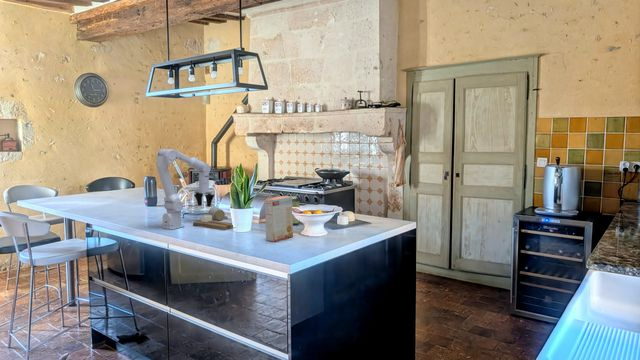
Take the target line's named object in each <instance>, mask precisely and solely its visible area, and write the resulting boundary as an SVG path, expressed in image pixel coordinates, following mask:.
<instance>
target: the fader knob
mask: <svg viewBox="0 0 640 360" xmlns="http://www.w3.org/2000/svg"><path fill="white" fill-rule="evenodd" d="M201 220H202V222H209V221H212V220H213V219H212V215H208V214H206V215H202V216H201Z"/></svg>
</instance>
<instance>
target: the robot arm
mask: <svg viewBox="0 0 640 360" xmlns="http://www.w3.org/2000/svg"><path fill="white" fill-rule="evenodd" d="M175 160H179V161H181V162H183V163H186V164H187V166H188V167H190V168H192V169H194V170H196V172H197V173H198V189H194V190H193V192H194V194H193V197H194V198H195V200H196V203H197V206H198V207H199V206H200V207H201V206H202V205H203V195H204V196H205V200H206V207H207V208H208V207H209V208H210V207H211V206H212V202H213V199H214V197H215V190H210V180H209V179H210V172H211V169H212V168H211V165H210V164H209V163H207V162H204V161H203V160H199V159H198V158H197V157H196V156H195V157H194V156H193V157H189V156H187V155H185V154H184V153H182V152H180V151H178V150H176V149H173V148H160V149H159V150H158V152H157V153H156V169H157V172H158V176H159V180H160V181H161V186H162V188H163V192H164V195H165V197H164V198H163V201H164V205H163V207H164V209H165V210H166V212H165V213H164V214H163V215H162V227H161V229H166V230H176V229H180V228H185V225H182V217H181V216H182V214H181V213H182V210H183V209H184V204H183V202H182V201H181V198H180V196H178V194H177V193H176V191H175V187H174V183H173V180H172V177H171V173H170V170H169V166H170V165H171V164H172V163H173V162H174V161H175Z"/></svg>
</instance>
